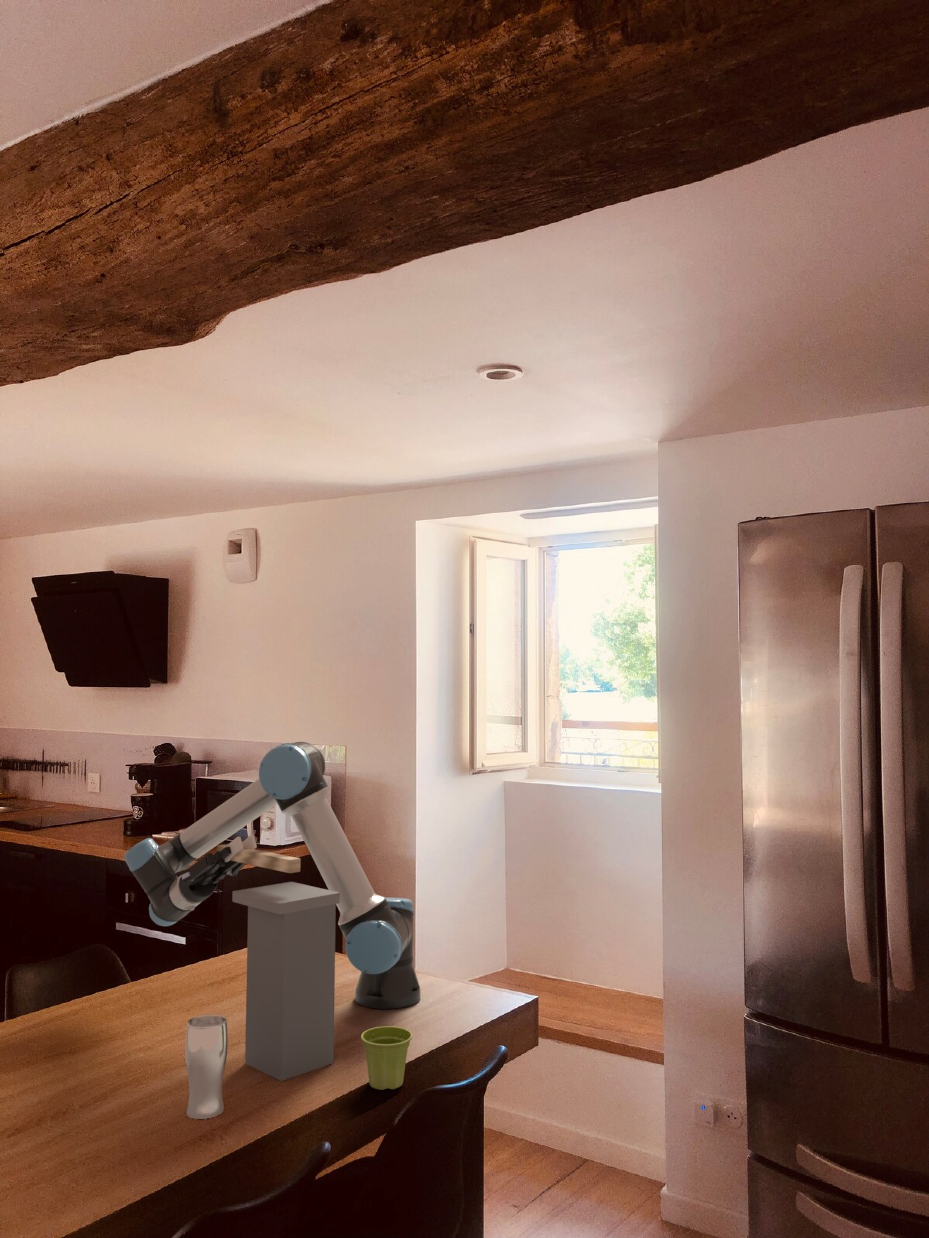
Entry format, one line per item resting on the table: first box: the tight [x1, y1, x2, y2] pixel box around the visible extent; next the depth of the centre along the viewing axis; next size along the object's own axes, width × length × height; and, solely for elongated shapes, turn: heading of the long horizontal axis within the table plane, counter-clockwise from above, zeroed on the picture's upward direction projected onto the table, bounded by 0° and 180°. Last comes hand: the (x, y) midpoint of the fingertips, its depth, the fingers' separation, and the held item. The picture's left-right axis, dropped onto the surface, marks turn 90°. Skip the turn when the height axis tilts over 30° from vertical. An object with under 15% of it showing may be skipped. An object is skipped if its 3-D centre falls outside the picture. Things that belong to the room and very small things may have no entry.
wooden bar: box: [216, 843, 301, 874], centre depth 196 cm, size 26×2×2 cm, turn 46°
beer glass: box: [184, 1014, 229, 1120], centre depth 164 cm, size 7×7×15 cm
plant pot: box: [360, 1025, 413, 1091], centre depth 175 cm, size 9×9×9 cm
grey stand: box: [231, 881, 340, 1082], centre depth 187 cm, size 16×14×32 cm
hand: (247, 841), depth 199 cm, fingers closed on wooden bar, 2 cm apart
